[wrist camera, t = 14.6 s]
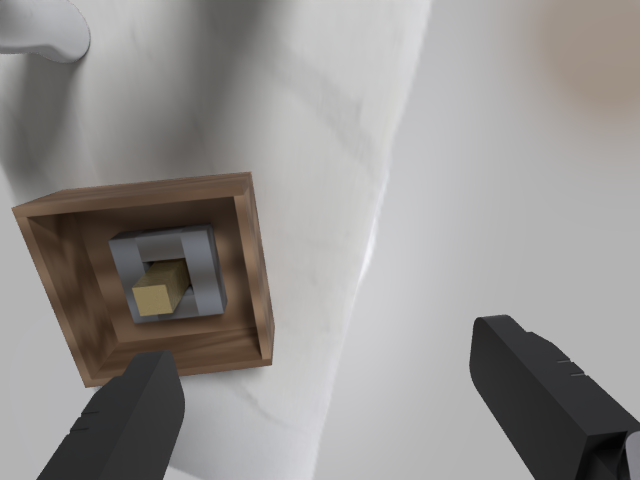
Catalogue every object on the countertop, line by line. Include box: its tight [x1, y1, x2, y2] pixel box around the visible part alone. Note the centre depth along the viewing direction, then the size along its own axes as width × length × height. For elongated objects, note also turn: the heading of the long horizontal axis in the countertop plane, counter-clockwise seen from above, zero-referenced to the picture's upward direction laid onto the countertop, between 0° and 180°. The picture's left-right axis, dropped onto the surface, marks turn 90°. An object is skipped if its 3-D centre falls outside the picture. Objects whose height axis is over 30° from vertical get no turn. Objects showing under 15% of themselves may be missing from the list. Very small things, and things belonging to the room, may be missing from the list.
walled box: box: [12, 172, 275, 388], centre depth 41 cm, size 22×22×8 cm
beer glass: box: [0, 0, 90, 63], centre depth 28 cm, size 7×7×15 cm
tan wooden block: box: [132, 258, 191, 316], centre depth 41 cm, size 3×3×8 cm
